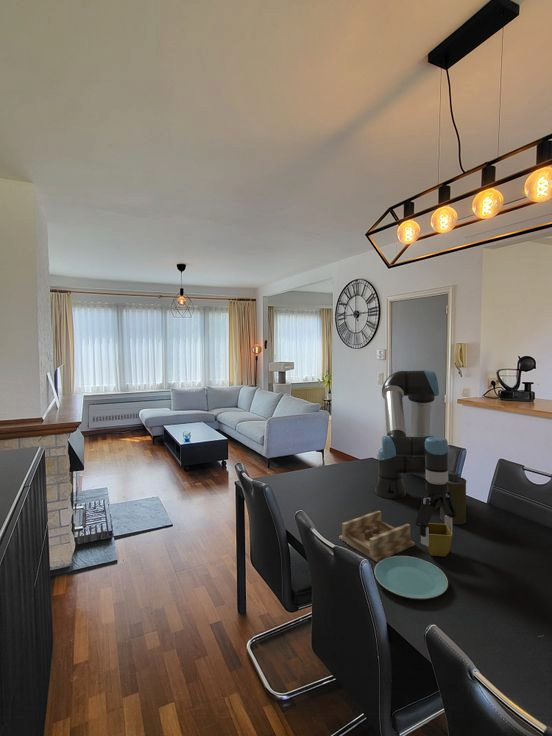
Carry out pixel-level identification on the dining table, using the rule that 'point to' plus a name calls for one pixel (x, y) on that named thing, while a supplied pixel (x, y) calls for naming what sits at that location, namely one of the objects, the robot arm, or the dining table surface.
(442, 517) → the canister
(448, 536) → the flower pot
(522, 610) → the dining table surface
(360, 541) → the peg frame
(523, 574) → the dining table surface
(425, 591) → the plate
